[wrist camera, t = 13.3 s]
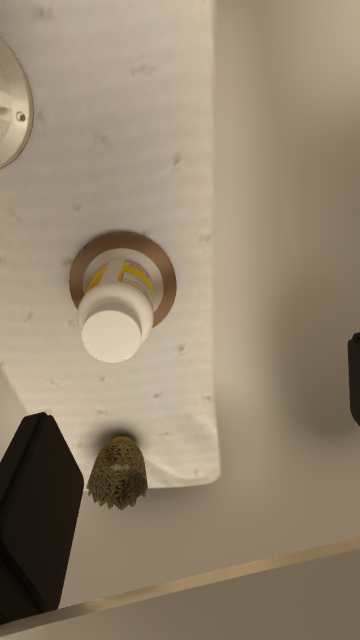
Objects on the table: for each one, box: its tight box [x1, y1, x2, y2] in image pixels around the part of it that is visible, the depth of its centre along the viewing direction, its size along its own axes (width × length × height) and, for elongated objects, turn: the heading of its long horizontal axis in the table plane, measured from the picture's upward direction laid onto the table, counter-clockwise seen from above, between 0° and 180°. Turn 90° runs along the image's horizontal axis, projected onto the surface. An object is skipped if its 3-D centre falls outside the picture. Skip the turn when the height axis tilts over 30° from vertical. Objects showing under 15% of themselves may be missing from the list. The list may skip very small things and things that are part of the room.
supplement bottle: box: [77, 259, 154, 363], centre depth 32 cm, size 7×7×13 cm
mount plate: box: [69, 232, 176, 328], centre depth 39 cm, size 12×12×2 cm
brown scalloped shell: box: [87, 435, 148, 510], centre depth 46 cm, size 8×7×8 cm
